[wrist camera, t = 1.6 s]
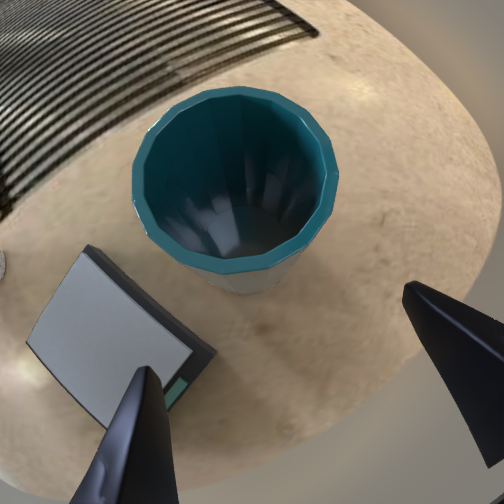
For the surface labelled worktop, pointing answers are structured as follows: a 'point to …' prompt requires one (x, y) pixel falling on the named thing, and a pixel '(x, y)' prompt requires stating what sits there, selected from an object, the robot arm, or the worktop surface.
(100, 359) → the scale
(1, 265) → the white frosted cupcake
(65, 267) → the worktop surface
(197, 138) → the cup
